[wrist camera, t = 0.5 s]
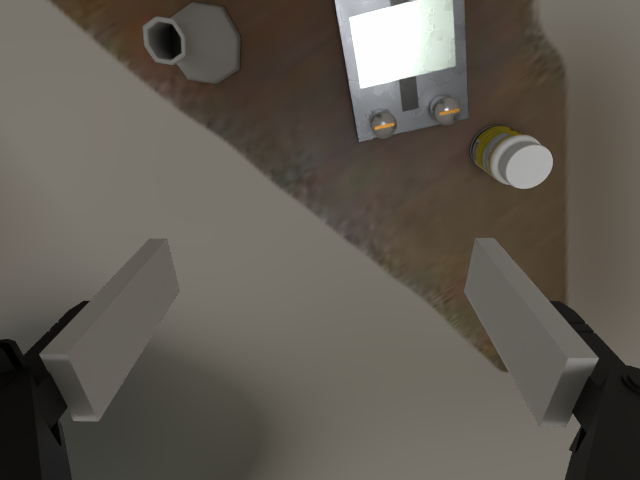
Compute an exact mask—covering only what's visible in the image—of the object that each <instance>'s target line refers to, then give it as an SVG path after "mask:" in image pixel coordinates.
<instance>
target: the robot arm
mask: <svg viewBox="0 0 640 480" xmlns="http://www.w3.org/2000/svg"><path fill="white" fill-rule="evenodd" d="M179 291H180V290H179V286H178V282H177V278H176V274H175V270H174V265H173V261H172V257H171V253H170V249H169V245H168V241H167V239H149V240H148V241H147V242H146V243H145V244H144V245H143V246H142V247H141V248H140V249H139V250H138V251H137V252H136V253H135V255H133V257H132V258H131V259H130V260H129V261H128V262H127V263H126V264H125V265H124V266H123V267H122V268H121V269H120V270H119V271H118V272H117V273H116V274H115V275H114V276H113V277H112V279H111V280H110V281H109V282H108V283H107V284H106V285H105V286H104V287H103V288H102V289H101V290H100V291H99V292H98V293H97V294H96V295H95V296H94V297H93V298H92V300H90V301H83V302H81V303H80V304H78V305H76V306H75V307H73V308H72V309H70V310H69V311H68V312H67V313H66V314H65V315H64V316H63V317H62V318H61V319H60V320H59V322H58V323H56V324H55V325H54V326H53V327H52V328H51V329H50V331H49V332H47V333H46V334H45V335H44V336H43V337H42V338H41V339H40V340H39V341H38V342H37V343H36V344H35V345H34V346H33V347H32V348H31V349H30V350H29V351H28V352H27V353H25V355H23V354H22V353H21V351H20V349H19V347H18V345H17V344H16V342H15V341H13V340H10V339H3V340H0V480H72V477H71V471H70V466H69V460H68V455H67V449H66V444H65V438H64V433H63V427H62V425H61V423H60V422H59V418H60V417H61V415H62V414H63V413H64V412H65V410H66V409H68V411H69V413H70V414H71V417H72V418H73V420H74V421H99V420H100V418H101V417H102V415H103V413H104V412H105V410H106V409H107V407H108V405H109V404H110V402H111V401H112V399H113V397H114V396H115V394H116V392H117V391H118V389H119V388H120V386H121V384H122V383H123V381H124V379H125V378H126V376H127V375H128V373H129V372H130V370H131V368H132V367H133V365H134V364H135V362H136V360H137V359H138V357H139V356H140V354H141V352H142V351H143V349H144V347H145V346H146V344H147V343H148V341H149V340H150V338H151V336H152V335H153V333H154V332H155V330H156V328H157V327H158V325H159V323H160V322H161V320H162V319H163V317H164V315H165V314H166V312H167V311H168V309H169V307H170V306H171V304H172V303H173V301H174V299H175V298H176V296H177V295H178V293H179ZM464 292H465V294H466V296H467V298H468V300H469V301H470V303H471V305H472V307H473V309H474V310H475V312H476V314H477V316H478V318H479V319H480V321H481V323H482V325H483V327H484V328H485V330H486V332H487V334H488V336H489V337H490V339H491V341H492V343H493V345H494V346H495V348H496V350H497V352H498V354H499V355H500V357H501V359H502V361H503V363H504V364H505V366H506V368H507V370H508V372H509V373H510V375H511V377H512V379H513V380H514V382H515V384H516V386H517V388H518V389H519V391H520V393H521V395H522V397H523V398H524V400H525V402H526V404H527V406H528V407H529V409H530V411H531V412H532V415H533V416H534V418H535V420H536V422H537V424H538V425H539V427H566V426H567V424H568V422H569V420H570V418H571V415H572V413H573V414H574V416H575V417H576V419H577V420H578V421H579V423H580V425H581V427H580V429H579V431H578V433H577V435H576V437H575V439H574V441H573V443H572V445H571V447H570V449H569V450H570V451H572V455H571V458H570V462H569V466H568V469H567V473H566V477H565V480H640V369H639V368H635V367H632V366H626V365H625V364H624V363H623V362H622V361H621V360H620V359H619V358H618V356H617V355H616V354H615V353H614V352H613V351H612V350H611V349H610V348H609V347H608V346H607V345H606V344H605V343H604V342H603V340H601V338H600V337H599V336H598V335H597V334H595V333H594V331H593V330H592V329H591V328H590V327H589V326H588V325H587V324H585V321H584V320H583V319H582V318H581V317H580V316H579V315H578V314H577V313H576V312H575V311H574V310H572V309H571V308H569V307H568V306H566V305H565V304H563V303H562V302H560V301H548V299H547V298H546V297H545V296H544V295H543V294H542V293H541V291H540V290H539V289H538V288H537V287H536V286H535V284H534V283H533V282H532V281H531V280H530V279H529V278H528V276H527V275H526V274H525V273H524V272H523V271H522V270H521V268H520V267H519V266H518V265H517V264H516V263H515V262H514V260H513V259H512V258H511V257H510V256H509V255H508V254H507V252H506V251H505V250H504V249H503V248H502V247H501V246H500V244H499V243H498V242H497V241H496V240H495V239H494V238H475V242H474V247H473V252H472V256H471V261H470V266H469V271H468V275H467V280H466V285H465V289H464Z"/></svg>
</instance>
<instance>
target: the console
mask: <svg viewBox="0 0 640 480" xmlns="http://www.w3.org/2000/svg"><path fill="white" fill-rule="evenodd" d="M334 3H335V8H336V14H337V20H338V26H339V32H340V37H341V43H342V49H343V55H344V61H345V66H346V72H347V78H348V84H349V90H350V95H351V101H352V107H353V113H354V119H355V125H356V130H357V136H358V140H359V142H361V141H366V140H370V139H375V138H380V139H386V138H389V137H391V136H392V135H393V134H398V133H402V132H407V131H411V130H416V129H421V128H425V127H430V126H434V125H439V124H443V125H450V124H453V123H455V122H456V121H457V120H462V119H466V118H468V97H467V68H466V39H465V10H464V0H334Z"/></svg>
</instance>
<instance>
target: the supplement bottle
mask: <svg viewBox="0 0 640 480" xmlns="http://www.w3.org/2000/svg"><path fill="white" fill-rule="evenodd" d="M470 154H471V158H472V160H473V162H474V163H475V164H476V165H477V166H479V167H480V168H481V169H483V170H484V171H486V172H487V173H488V174H490V175H491V176H492V177H494V178H495V179H496V180H498V181H499V182H501V183H503V184H507V185H512V186H514V187H516V188H520V189H527V188H532V187H534V186H536V185H538V184H540V183H541V182H542V181H544V180H545V179H546V178H547V176H548V175H549V173H550V171H551V169H552V165H553V158H552V155H551V153H550V151H549V150H548V149H547V148H545V147H543V146H542V145H541V144H540V143H539V142H538V141H537V140H536V139H535V138H533V137H531V136H529V135H526V134H524V133H521V132H518V131H516V130H513V129H511V128H508V127H505V126H502V125H492V126H489V127H486V128H484V129H483V130H481V131H480V132H479V133H478V134H477V135H476V136H475V138H474V139H473V141H472V144H471V148H470Z"/></svg>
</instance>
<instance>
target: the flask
mask: <svg viewBox="0 0 640 480" xmlns="http://www.w3.org/2000/svg"><path fill="white" fill-rule="evenodd" d="M143 38H144V46H145V48H146V49H147V51H148V52H149V54H150V55H151V57H152V58H153V60H154V61H155V62H156V63H162V64H169V65H174V64H177V65H178V67H179V68H180V69H181V70H182V72H183V73H184V75H185V76H186V78H187V79H188V80H190V81H197V82H203V83H210V84H218V83H220V82H221V81H223V80H224V79H226V78H228V77H229V76H231V75H232V74H234V73H235V72H237V71H238V70H240V47H241V36H240V35H239V33H238V31H237V29H236V28H235V26H234V24H233V22H232V21H231V19H230V17H229V15H228V14H227V12H226V10H225V8H224V7H223V6H218V5H212V4H206V3H200V2H194V1H192V2H191V3H190V4H188V5H187V6H186V7H184V8H183V9H182V10H180V11H179V12H177V13H176V14H175V15H173V16H172V17H171V18H164V17H158V16H156V17H154V18H153V19H152V20H150V21H149V22H148V23H146V24H145V25H144V26H143Z"/></svg>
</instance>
